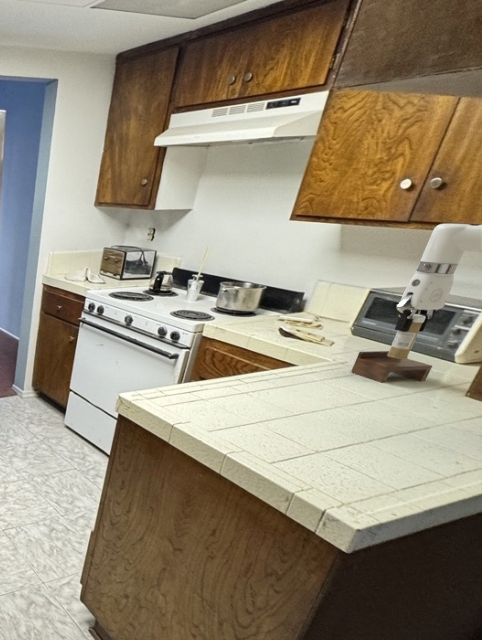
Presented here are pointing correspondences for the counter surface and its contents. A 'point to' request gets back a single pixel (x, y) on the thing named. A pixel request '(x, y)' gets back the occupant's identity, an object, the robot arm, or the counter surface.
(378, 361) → the shelf
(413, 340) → the sprinkles bottle
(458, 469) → the counter surface
